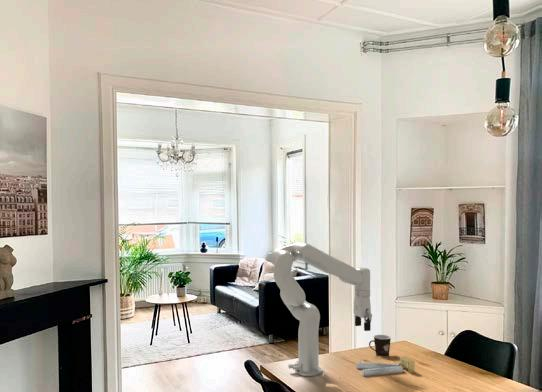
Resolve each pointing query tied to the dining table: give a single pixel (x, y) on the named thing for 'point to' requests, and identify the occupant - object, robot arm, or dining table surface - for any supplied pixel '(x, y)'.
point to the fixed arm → (382, 370)
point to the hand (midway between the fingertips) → (362, 328)
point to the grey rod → (374, 365)
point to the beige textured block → (411, 364)
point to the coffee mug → (381, 345)
